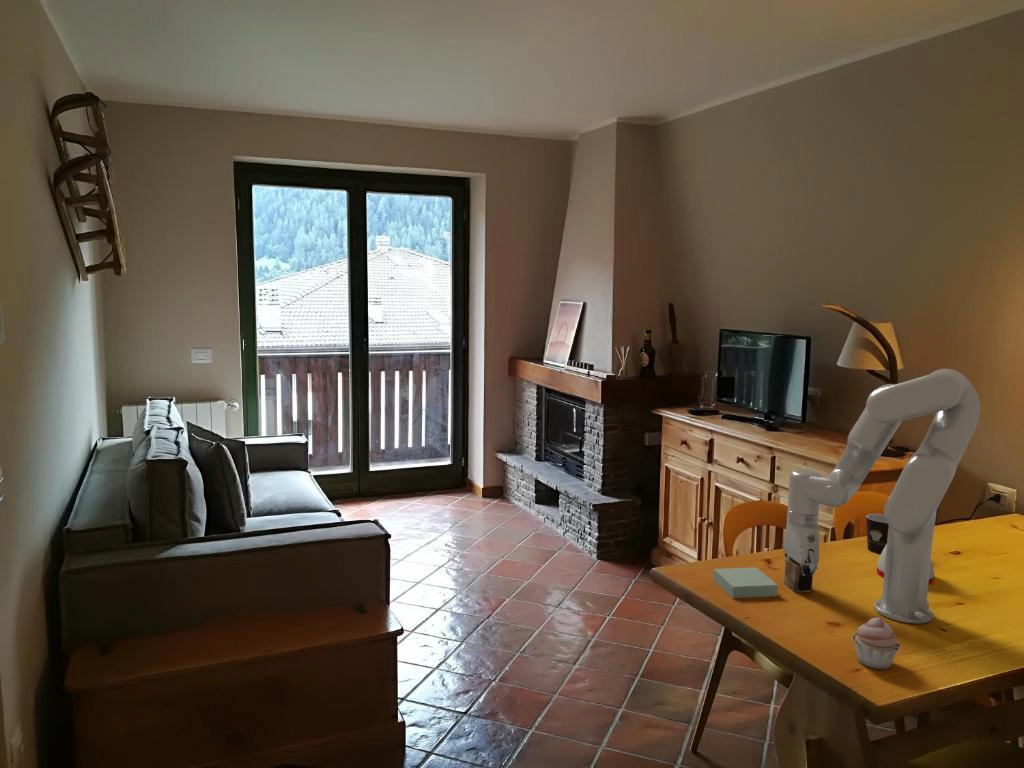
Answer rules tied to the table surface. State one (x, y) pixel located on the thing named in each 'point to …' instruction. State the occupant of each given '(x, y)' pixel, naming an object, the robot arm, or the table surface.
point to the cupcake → (876, 644)
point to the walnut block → (793, 575)
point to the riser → (745, 582)
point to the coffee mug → (876, 532)
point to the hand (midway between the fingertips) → (797, 583)
